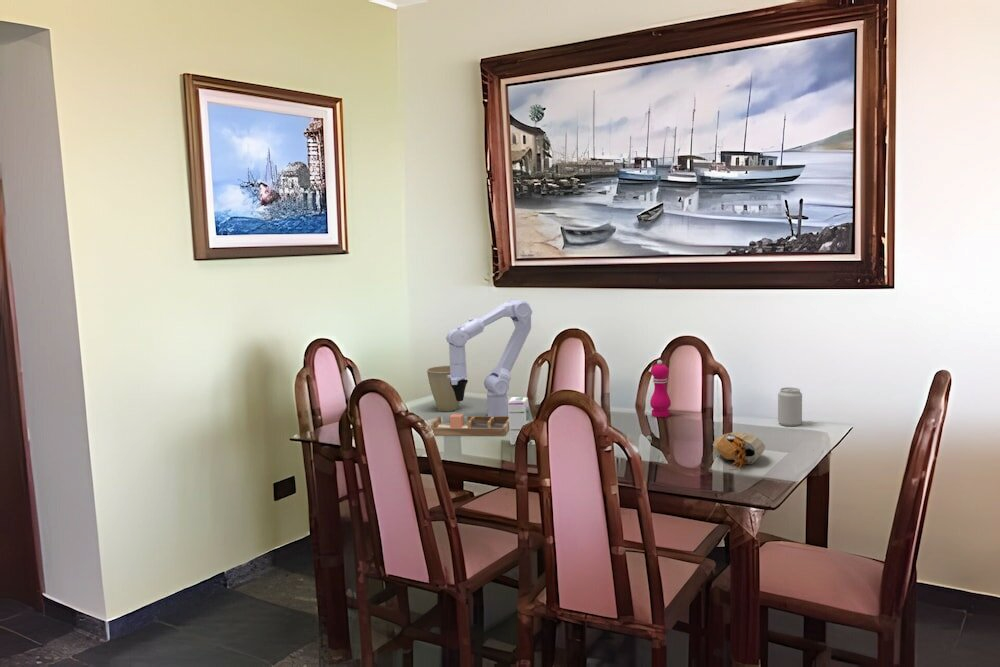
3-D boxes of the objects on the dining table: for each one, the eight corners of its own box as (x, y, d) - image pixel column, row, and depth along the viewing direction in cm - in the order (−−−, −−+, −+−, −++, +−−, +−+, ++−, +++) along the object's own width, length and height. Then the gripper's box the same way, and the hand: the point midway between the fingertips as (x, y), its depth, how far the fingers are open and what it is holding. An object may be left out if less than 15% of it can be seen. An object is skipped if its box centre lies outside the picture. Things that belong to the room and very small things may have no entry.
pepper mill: (671, 417, 282) (670, 361, 279) (650, 418, 283) (649, 362, 281) (670, 412, 289) (669, 358, 286) (650, 413, 290) (649, 358, 288)
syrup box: (527, 445, 257) (525, 400, 255) (509, 444, 258) (507, 400, 256) (530, 440, 262) (528, 396, 260) (512, 440, 263) (510, 396, 261)
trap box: (438, 424, 288) (438, 416, 288) (513, 424, 283) (512, 416, 283) (426, 437, 271) (425, 428, 271) (504, 437, 266) (504, 428, 266)
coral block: (453, 424, 284) (452, 413, 283) (464, 424, 283) (463, 413, 283) (450, 427, 280) (449, 416, 279) (461, 427, 279) (460, 416, 279)
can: (778, 426, 265) (778, 391, 263) (777, 420, 272) (777, 386, 270) (802, 427, 263) (802, 391, 261) (801, 421, 270) (801, 386, 268)
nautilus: (756, 478, 217) (701, 475, 224) (771, 451, 236) (719, 449, 243) (755, 450, 216) (699, 447, 223) (769, 426, 234) (717, 424, 241)
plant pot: (466, 413, 302) (463, 371, 300) (426, 414, 303) (424, 373, 301) (469, 404, 317) (467, 364, 315) (431, 405, 318) (429, 365, 316)
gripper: (451, 359, 292) (453, 396, 294) (441, 367, 278) (444, 405, 280) (470, 359, 291) (472, 396, 293) (461, 366, 277) (463, 405, 279)
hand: (459, 400), depth 286 cm, fingers closed
